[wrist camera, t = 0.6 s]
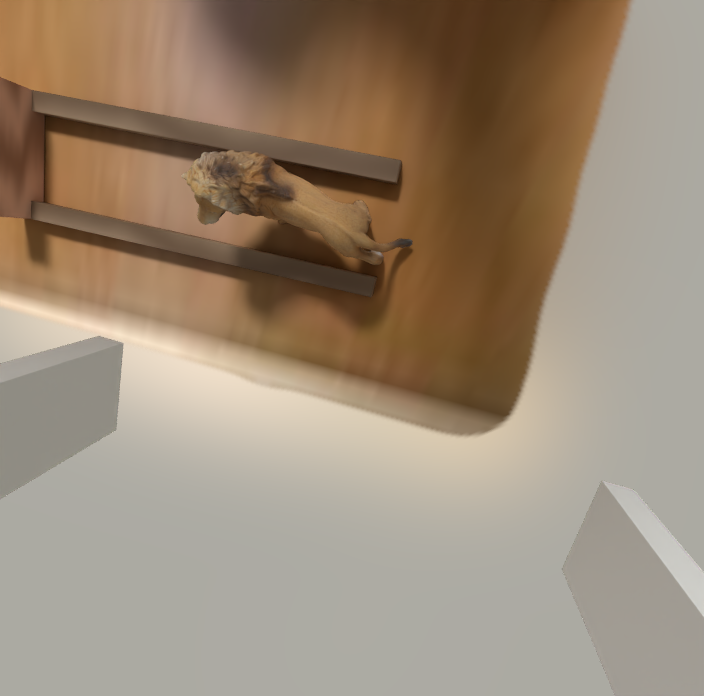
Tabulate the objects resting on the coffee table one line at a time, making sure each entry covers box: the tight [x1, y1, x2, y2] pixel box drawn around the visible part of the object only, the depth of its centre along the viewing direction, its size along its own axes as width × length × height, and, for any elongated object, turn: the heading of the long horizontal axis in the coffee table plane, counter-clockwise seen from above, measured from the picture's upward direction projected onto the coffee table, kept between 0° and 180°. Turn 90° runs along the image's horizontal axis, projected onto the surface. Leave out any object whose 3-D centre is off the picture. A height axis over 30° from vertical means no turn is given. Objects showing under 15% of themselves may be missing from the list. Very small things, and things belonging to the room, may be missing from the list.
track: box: [0, 77, 402, 297], centre depth 32 cm, size 10×32×4 cm, turn 78°
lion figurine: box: [182, 150, 413, 265], centre depth 29 cm, size 15×5×9 cm, turn 75°
